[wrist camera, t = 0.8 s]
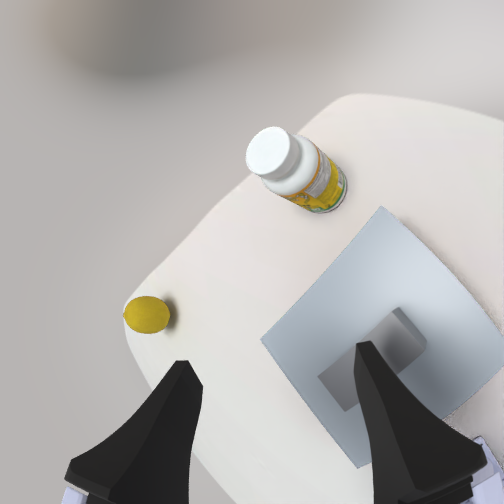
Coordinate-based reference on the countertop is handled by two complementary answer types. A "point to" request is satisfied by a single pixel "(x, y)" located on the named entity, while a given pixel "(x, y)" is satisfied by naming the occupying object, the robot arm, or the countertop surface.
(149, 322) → the lemon
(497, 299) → the countertop surface
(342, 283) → the lid
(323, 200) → the supplement bottle
